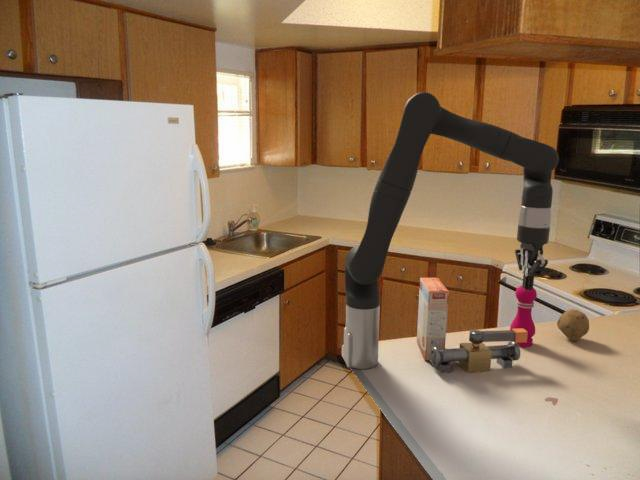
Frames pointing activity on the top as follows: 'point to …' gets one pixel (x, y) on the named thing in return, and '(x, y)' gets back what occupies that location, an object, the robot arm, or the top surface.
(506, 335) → the lever
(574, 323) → the brown rounded lump
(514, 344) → the valve pipe
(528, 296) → the pepper mill
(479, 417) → the top surface
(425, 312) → the cracker box
